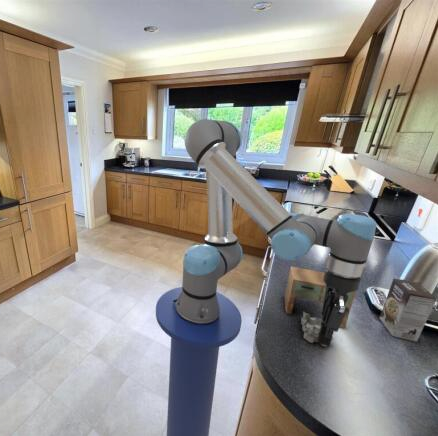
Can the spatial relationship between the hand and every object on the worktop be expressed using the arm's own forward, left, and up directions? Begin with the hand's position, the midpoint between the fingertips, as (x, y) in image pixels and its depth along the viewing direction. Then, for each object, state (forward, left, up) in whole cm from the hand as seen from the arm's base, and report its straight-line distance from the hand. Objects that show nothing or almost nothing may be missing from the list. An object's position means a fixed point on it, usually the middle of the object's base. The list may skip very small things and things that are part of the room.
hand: (323, 342), depth 71 cm
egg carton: (-3, +5, -2) cm, 6 cm away
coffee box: (+16, +27, -2) cm, 31 cm away
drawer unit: (-6, +17, -2) cm, 18 cm away
